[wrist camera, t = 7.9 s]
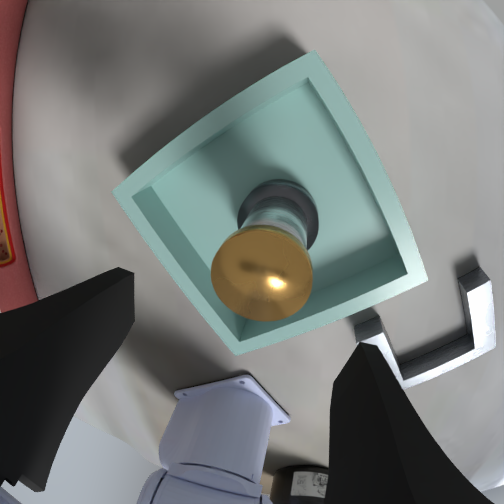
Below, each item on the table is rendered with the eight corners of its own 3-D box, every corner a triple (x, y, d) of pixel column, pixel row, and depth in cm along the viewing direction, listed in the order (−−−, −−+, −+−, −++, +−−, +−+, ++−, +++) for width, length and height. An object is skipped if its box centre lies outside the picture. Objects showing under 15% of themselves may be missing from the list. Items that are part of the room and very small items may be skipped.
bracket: (381, 380, 23) (384, 396, 21) (354, 326, 20) (356, 343, 19) (488, 333, 19) (495, 347, 17) (480, 267, 17) (490, 280, 15)
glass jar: (308, 257, 18) (303, 337, 12) (237, 241, 19) (199, 312, 12) (326, 188, 16) (335, 241, 10) (248, 171, 16) (208, 212, 10)
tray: (244, 328, 22) (235, 355, 20) (137, 179, 19) (111, 191, 16) (414, 255, 17) (428, 280, 15) (314, 60, 14) (314, 49, 11)
